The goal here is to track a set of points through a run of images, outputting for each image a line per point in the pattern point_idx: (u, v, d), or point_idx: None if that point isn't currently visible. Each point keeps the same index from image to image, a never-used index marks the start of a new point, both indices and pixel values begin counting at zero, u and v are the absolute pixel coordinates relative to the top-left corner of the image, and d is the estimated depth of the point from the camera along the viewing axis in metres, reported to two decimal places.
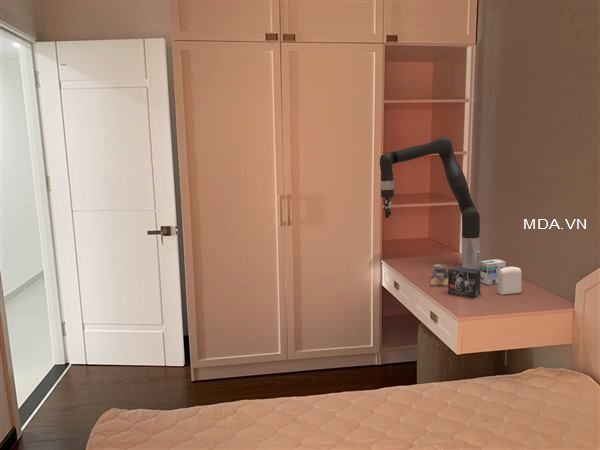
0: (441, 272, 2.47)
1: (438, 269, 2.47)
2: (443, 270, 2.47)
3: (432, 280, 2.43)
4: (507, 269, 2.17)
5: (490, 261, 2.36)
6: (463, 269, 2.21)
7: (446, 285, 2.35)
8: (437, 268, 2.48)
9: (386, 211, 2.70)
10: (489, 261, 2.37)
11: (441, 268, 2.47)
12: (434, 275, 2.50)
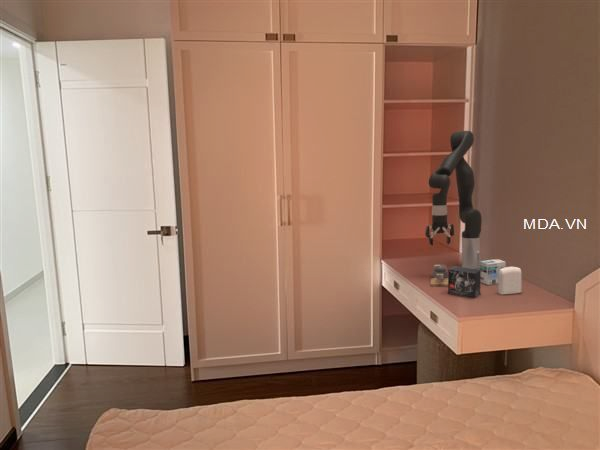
0: (441, 272, 2.47)
1: (438, 269, 2.47)
2: (443, 270, 2.47)
3: (432, 280, 2.43)
4: (507, 269, 2.17)
5: (490, 261, 2.36)
6: (463, 269, 2.21)
7: (446, 285, 2.35)
8: (437, 268, 2.48)
9: (450, 236, 2.47)
10: (489, 261, 2.37)
11: (441, 268, 2.47)
12: (434, 275, 2.50)
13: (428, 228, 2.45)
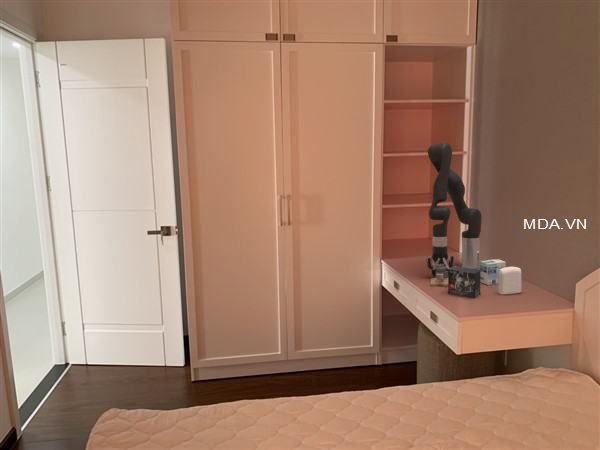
0: (441, 272, 2.47)
1: (438, 269, 2.47)
2: (443, 270, 2.47)
3: (432, 280, 2.43)
4: (507, 269, 2.17)
5: (490, 261, 2.36)
6: (463, 269, 2.21)
7: (446, 285, 2.35)
8: (437, 268, 2.48)
9: (448, 268, 2.50)
10: (489, 261, 2.37)
11: (441, 268, 2.47)
12: None
13: (429, 260, 2.47)
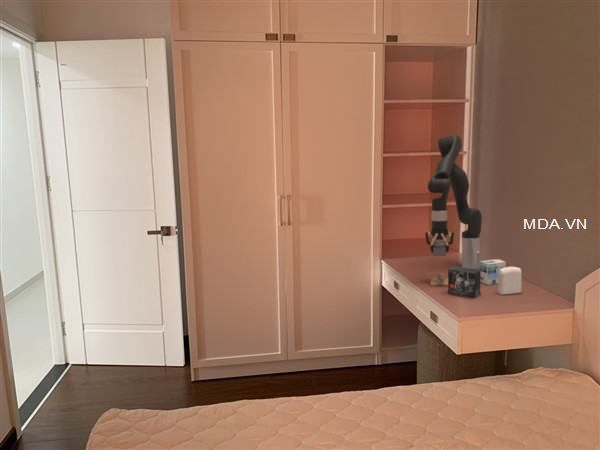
0: (438, 248, 2.35)
1: (435, 245, 2.36)
2: (441, 246, 2.35)
3: (432, 280, 2.43)
4: (507, 269, 2.17)
5: (490, 261, 2.36)
6: (463, 269, 2.21)
7: (446, 285, 2.35)
8: (435, 244, 2.37)
9: (448, 245, 2.37)
10: (489, 261, 2.37)
11: (438, 244, 2.35)
12: None
13: (426, 235, 2.38)
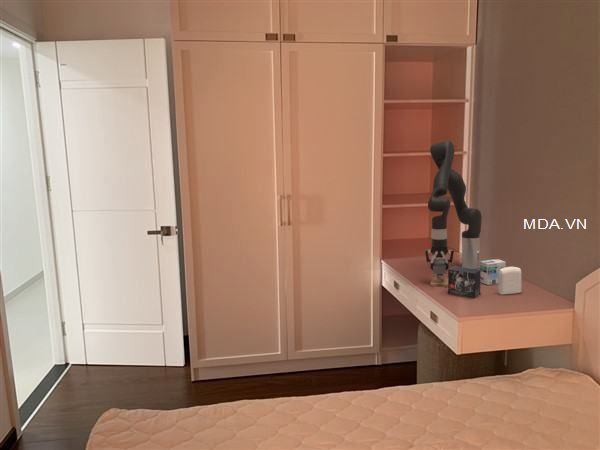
0: (438, 266, 2.37)
1: (435, 263, 2.38)
2: (440, 264, 2.37)
3: (432, 280, 2.43)
4: (507, 269, 2.17)
5: (490, 261, 2.36)
6: (463, 269, 2.21)
7: (446, 285, 2.35)
8: (434, 261, 2.38)
9: (448, 263, 2.38)
10: (489, 261, 2.37)
11: (438, 262, 2.37)
12: None
13: (426, 252, 2.39)
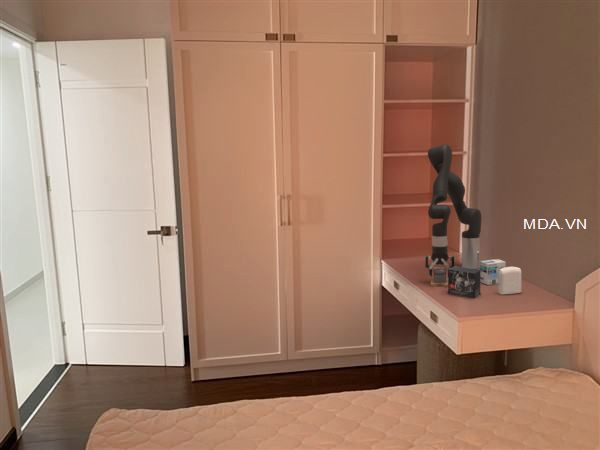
0: (439, 275, 2.38)
1: (436, 272, 2.38)
2: (441, 273, 2.37)
3: (432, 280, 2.43)
4: (507, 269, 2.17)
5: (490, 261, 2.36)
6: (463, 269, 2.21)
7: (446, 285, 2.35)
8: (435, 270, 2.39)
9: None
10: (489, 261, 2.37)
11: (439, 271, 2.37)
12: None
13: (426, 258, 2.40)
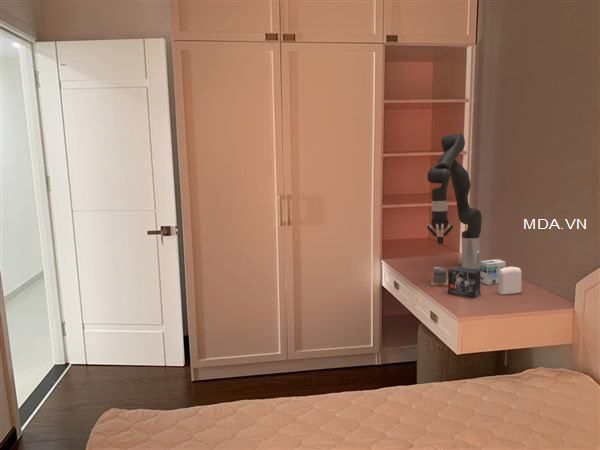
0: (439, 275, 2.38)
1: (436, 272, 2.38)
2: (441, 273, 2.37)
3: (432, 280, 2.43)
4: (507, 269, 2.17)
5: (490, 261, 2.36)
6: (463, 269, 2.21)
7: (446, 285, 2.35)
8: (435, 270, 2.39)
9: (443, 236, 2.36)
10: (489, 261, 2.37)
11: (439, 271, 2.37)
12: None
13: (429, 228, 2.36)
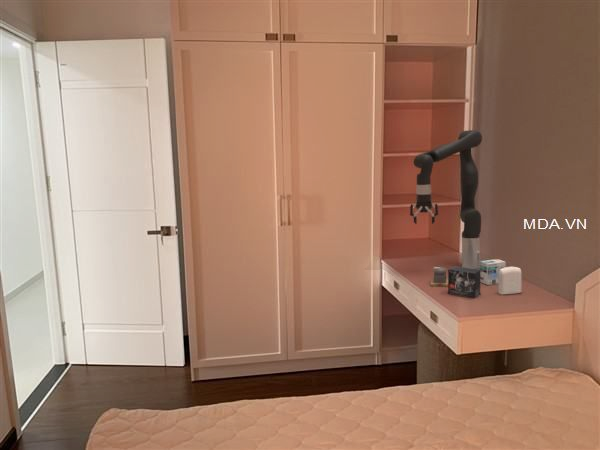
0: (439, 275, 2.38)
1: (436, 272, 2.38)
2: (441, 273, 2.37)
3: (432, 280, 2.43)
4: (507, 269, 2.17)
5: (490, 261, 2.36)
6: (463, 269, 2.21)
7: (446, 285, 2.35)
8: (435, 270, 2.39)
9: (434, 216, 2.51)
10: (489, 261, 2.37)
11: (439, 271, 2.37)
12: None
13: (411, 207, 2.52)
